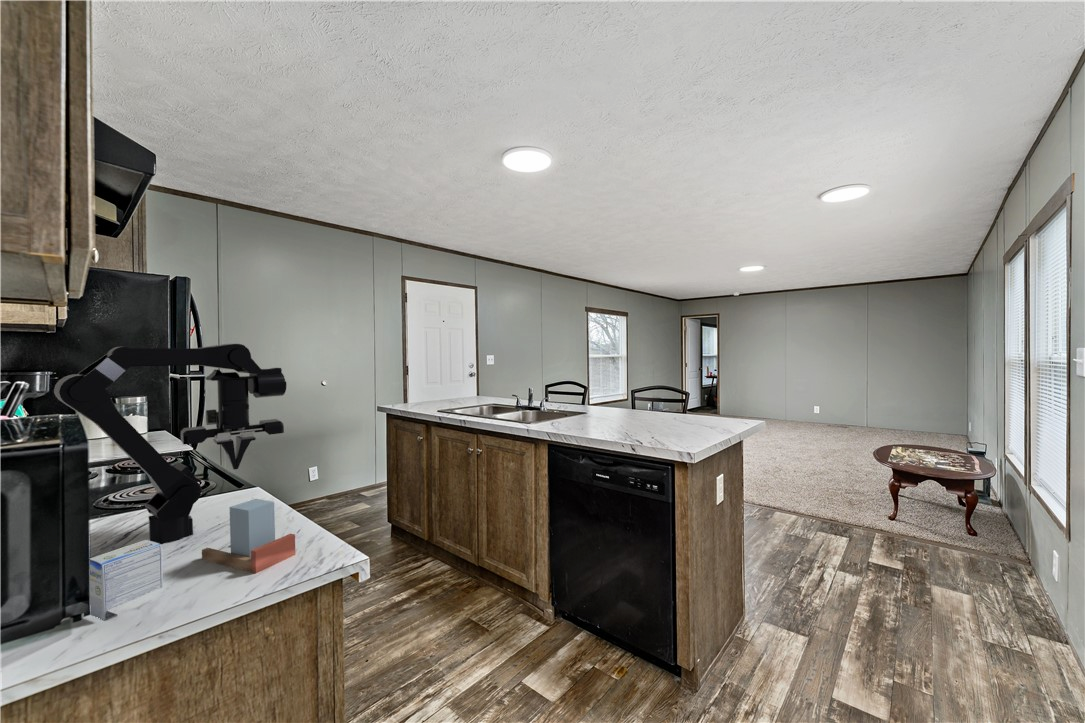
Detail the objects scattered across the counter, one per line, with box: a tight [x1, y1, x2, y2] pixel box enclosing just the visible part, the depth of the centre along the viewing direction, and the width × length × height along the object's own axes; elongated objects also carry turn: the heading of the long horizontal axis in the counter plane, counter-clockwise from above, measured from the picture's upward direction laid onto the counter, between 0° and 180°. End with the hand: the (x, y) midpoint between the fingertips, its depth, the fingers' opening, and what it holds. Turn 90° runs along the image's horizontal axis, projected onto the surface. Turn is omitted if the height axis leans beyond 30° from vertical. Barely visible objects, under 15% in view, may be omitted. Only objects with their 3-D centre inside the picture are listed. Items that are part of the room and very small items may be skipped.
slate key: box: [229, 498, 276, 558], centre depth 86 cm, size 5×5×10 cm
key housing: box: [201, 533, 296, 574], centre depth 87 cm, size 15×9×5 cm, turn 68°
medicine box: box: [89, 539, 164, 621], centre depth 73 cm, size 8×4×9 cm, turn 157°
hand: (235, 469), depth 105 cm, fingers closed
